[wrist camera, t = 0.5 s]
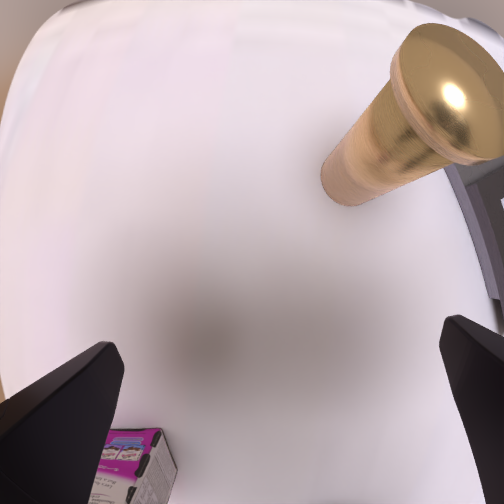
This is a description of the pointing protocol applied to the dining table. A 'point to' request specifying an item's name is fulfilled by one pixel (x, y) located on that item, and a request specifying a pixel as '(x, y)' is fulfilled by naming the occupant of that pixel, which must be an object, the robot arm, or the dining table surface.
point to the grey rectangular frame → (484, 216)
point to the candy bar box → (134, 469)
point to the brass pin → (422, 117)
